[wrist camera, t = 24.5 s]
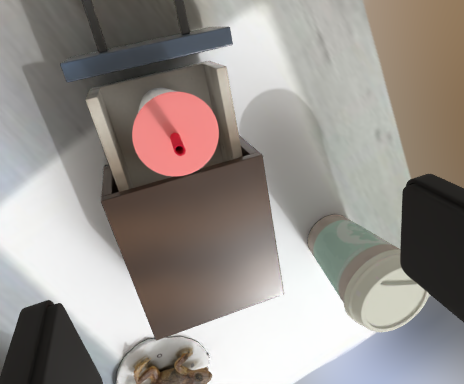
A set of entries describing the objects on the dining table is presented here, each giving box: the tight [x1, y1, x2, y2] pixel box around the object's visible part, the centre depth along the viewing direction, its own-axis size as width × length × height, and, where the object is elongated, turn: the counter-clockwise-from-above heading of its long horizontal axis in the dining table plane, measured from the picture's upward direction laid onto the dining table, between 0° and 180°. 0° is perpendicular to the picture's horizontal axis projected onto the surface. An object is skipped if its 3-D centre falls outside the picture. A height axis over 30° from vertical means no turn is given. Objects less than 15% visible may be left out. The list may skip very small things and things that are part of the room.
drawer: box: [60, 0, 243, 192], centre depth 28 cm, size 18×11×6 cm, turn 11°
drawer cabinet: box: [101, 135, 284, 341], centre depth 34 cm, size 15×13×8 cm
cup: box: [132, 88, 219, 176], centre depth 25 cm, size 5×5×12 cm
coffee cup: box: [308, 214, 429, 332], centre depth 39 cm, size 9×9×12 cm
